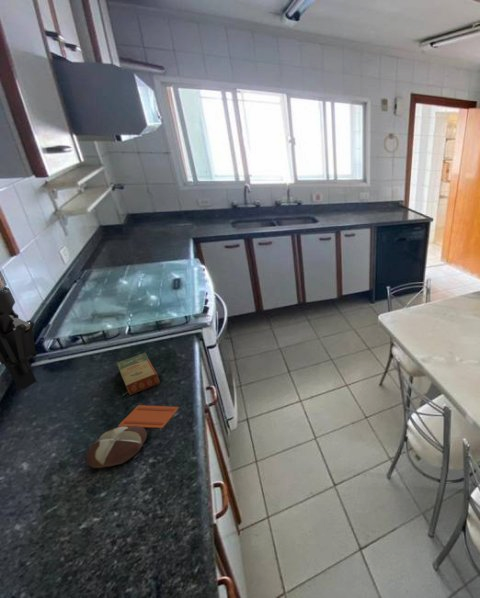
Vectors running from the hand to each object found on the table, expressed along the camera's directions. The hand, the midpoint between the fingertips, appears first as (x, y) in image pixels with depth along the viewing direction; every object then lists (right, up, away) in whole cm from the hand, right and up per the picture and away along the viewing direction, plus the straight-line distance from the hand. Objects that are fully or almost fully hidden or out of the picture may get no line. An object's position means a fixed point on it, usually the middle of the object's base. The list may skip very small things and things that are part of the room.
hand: (27, 384), depth 76 cm
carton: (0, -6, +33) cm, 33 cm away
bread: (+15, -19, +8) cm, 25 cm away
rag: (+14, -14, +18) cm, 27 cm away
